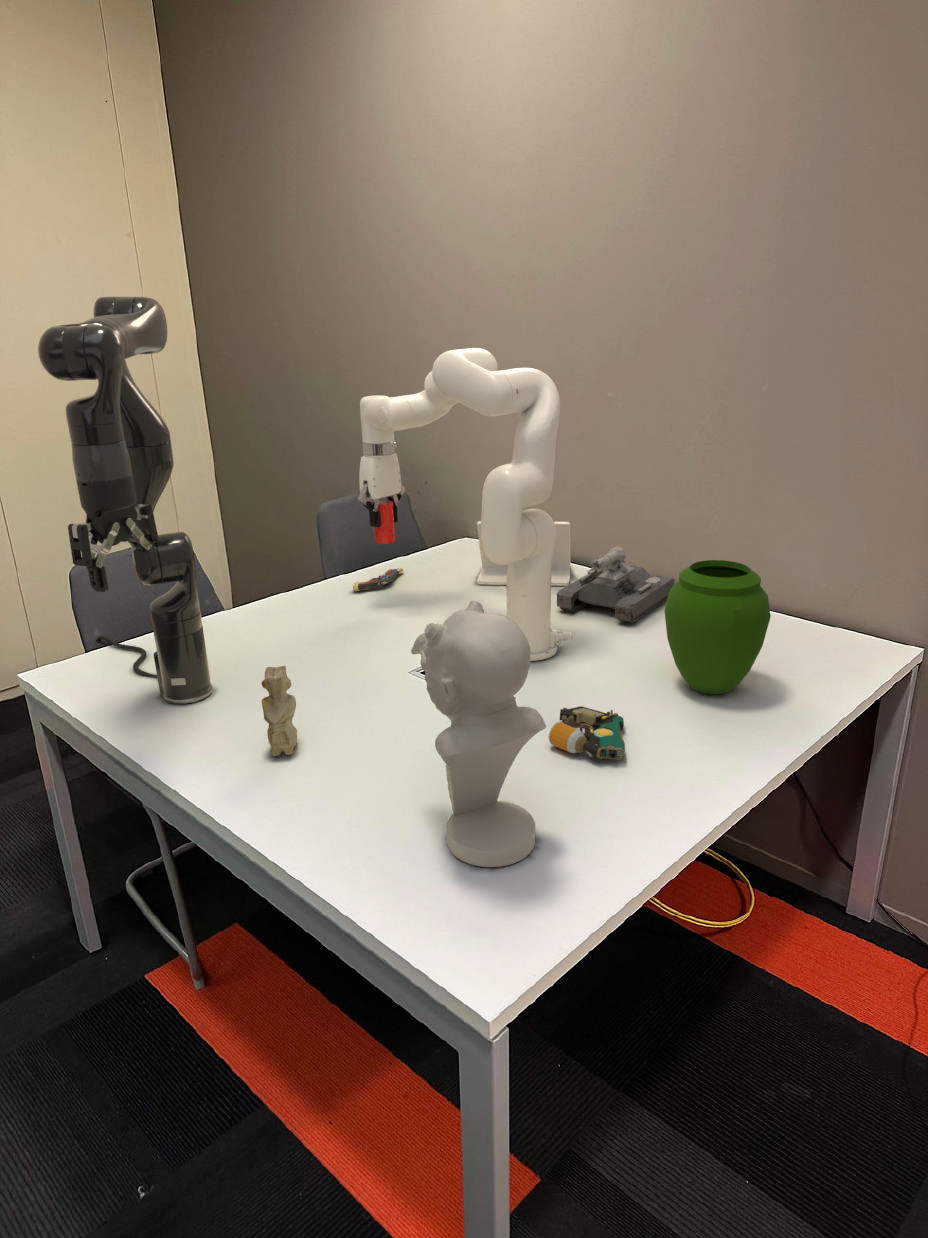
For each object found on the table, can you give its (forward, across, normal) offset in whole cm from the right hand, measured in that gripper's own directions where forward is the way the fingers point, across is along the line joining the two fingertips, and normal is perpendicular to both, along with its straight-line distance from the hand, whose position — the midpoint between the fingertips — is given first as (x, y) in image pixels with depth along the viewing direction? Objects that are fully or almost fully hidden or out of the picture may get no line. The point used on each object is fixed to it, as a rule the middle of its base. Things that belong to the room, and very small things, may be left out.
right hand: (384, 523), depth 209 cm
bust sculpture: (+23, +60, +80) cm, 102 cm away
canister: (+5, 0, 0) cm, 5 cm away
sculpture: (+23, +62, +38) cm, 76 cm away
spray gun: (+23, +25, +78) cm, 85 cm away
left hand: (-13, +82, +32) cm, 89 cm away
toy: (+23, -37, +44) cm, 61 cm away
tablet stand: (+22, -42, +11) cm, 49 cm away
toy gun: (+22, -13, -18) cm, 31 cm away
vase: (+23, -7, +84) cm, 88 cm away
